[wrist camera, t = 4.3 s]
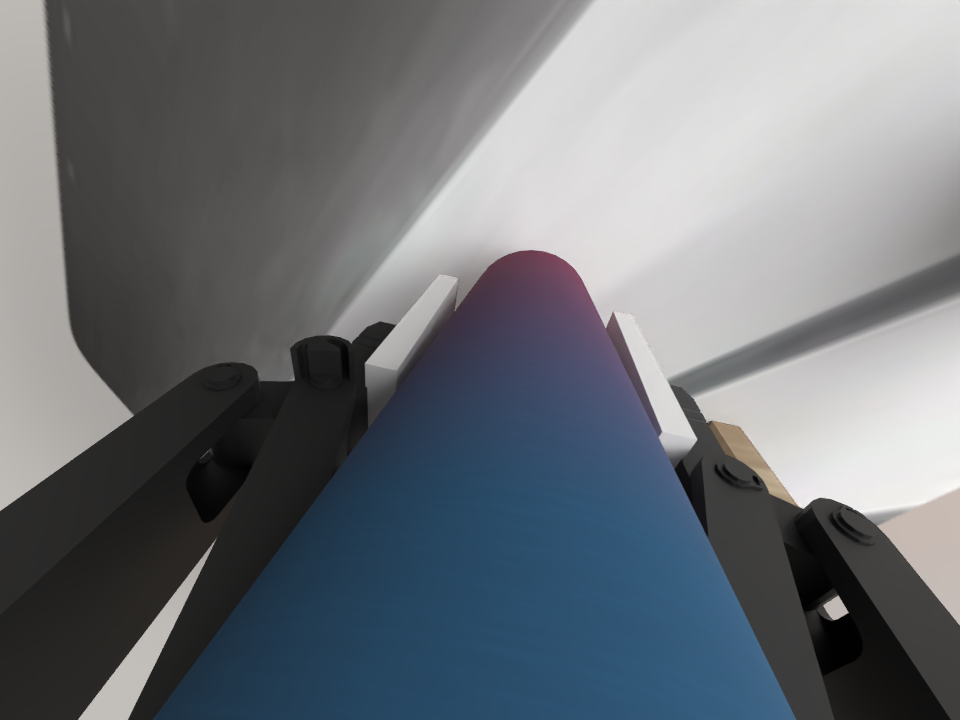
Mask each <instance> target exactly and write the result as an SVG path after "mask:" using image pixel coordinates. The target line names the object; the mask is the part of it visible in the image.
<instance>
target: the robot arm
mask: <svg viewBox="0 0 960 720" xmlns="http://www.w3.org/2000/svg"><path fill="white" fill-rule="evenodd" d="M458 279H459V278H456V277H452V276H447V275H442V274H439V275H438V276H437V278H436V279H435V280H434V281H433V282H432V284H431V285H430V286H429V287H428V288H427V290H426V291H425V292H424V293H423V294H422V296H421V297H420V298H419V299H418V300H417V302H416V303H415V304H414V305H413V306H412V308H411V309H410V310H409V311H408V312H407V313H406V315H405V316H404V317H403V318H402V319H401V321H400V322H399V323H398V324H397V325H393V324H389V323H384V322H378V323H376V324H373V325H371V326H369V327H367V328H366V329H365V330H364V331H363V332H362V333H361V334H360V335H359V337H357V338H356V339H355V340H354V341H353V342H352V344H351V343H350V342H349V341H348V340H345V339H343V338H341V337H335V336H314V337H310V338H305V339H303V340H301V341H299V342H297V343H295V344H294V345H293V346H292V347H291V348H290V351H291V357H292V363H293V369H294V376H295V380H294V381H287V382H279V381H260V380H259V376H258V372H257V371H256V370H255V369H254V368H253V367H252V366H250V365H247V364H244V363H233V362H230V363H220V364H216V365H212V366H209V367H206V368H203V369H201V370H199V371H198V372H196V373H194V374H192V375H191V376H189V377H188V378H187V379H185V380H184V381H182V382H181V383H180V384H178V385H177V386H175V387H174V388H173V389H171V390H170V391H168V392H167V393H166V394H164V395H163V396H161V397H160V398H159V399H157V400H156V401H154V402H153V403H152V404H150V405H149V406H147V407H146V408H144V409H143V410H142V411H140V412H139V413H137V414H136V415H135V416H133V417H132V418H130V419H129V420H128V421H126V422H125V423H123V424H122V425H121V426H119V427H118V428H117V429H115V430H114V431H112V432H111V433H109V434H108V435H107V436H105V437H104V438H102V439H101V440H100V441H98V442H97V443H95V444H94V445H92V446H91V447H90V448H88V449H87V450H85V451H84V452H83V453H81V454H80V455H78V456H77V457H76V458H74V459H73V460H71V461H70V462H69V463H67V464H66V465H64V466H63V467H62V468H60V469H59V470H58V471H56V472H55V473H53V474H52V475H50V476H49V477H48V478H46V479H45V480H44V481H42V482H40V483H39V484H38V485H37V486H35V487H34V488H32V489H31V490H29V491H28V492H26V493H25V494H24V495H22V496H21V497H20V498H18V499H17V500H15V501H14V502H13V503H11V504H10V505H8V506H7V507H5V508H4V509H3V510H1V511H0V720H78V719H79V717H80V716H81V715H82V714H83V712H84V711H85V710H86V708H87V707H88V705H89V704H90V703H91V702H92V700H93V699H94V698H95V696H96V695H97V694H98V693H99V691H100V690H101V689H102V687H103V686H104V685H105V683H106V682H107V680H109V678H110V677H111V675H112V674H113V673H114V672H115V670H116V669H117V668H118V666H119V665H120V664H121V662H122V661H123V660H124V659H125V657H126V656H127V655H128V653H129V652H130V650H131V649H132V648H133V647H134V646H135V644H136V643H137V642H138V640H139V639H140V638H141V636H142V635H143V634H144V632H145V631H146V630H147V629H148V627H149V626H150V625H151V623H152V622H153V621H154V619H155V618H156V617H157V615H158V614H159V613H160V611H161V610H162V609H163V608H164V606H165V605H166V604H167V602H168V601H169V600H170V598H171V597H172V596H173V594H174V593H175V592H176V591H177V589H178V588H179V587H180V585H181V584H182V583H183V581H184V580H185V579H186V577H187V576H188V575H189V574H190V572H191V571H192V570H193V568H194V567H195V566H196V564H197V563H198V562H199V560H200V559H201V558H202V557H203V555H204V554H205V553H206V551H207V550H208V549H209V547H210V546H211V545H212V543H213V542H214V541H215V539H216V538H217V539H216V541H215V543H214V545H213V547H212V550H211V552H210V554H209V556H208V558H207V560H206V562H205V564H204V566H203V568H202V570H201V572H200V574H199V576H198V578H197V580H196V582H195V584H194V586H193V588H192V590H191V593H190V594H189V596H188V598H187V601H186V603H185V605H184V607H183V609H182V611H181V613H180V615H179V617H178V619H177V621H176V623H175V625H174V627H173V629H172V631H171V633H170V635H169V637H168V639H167V641H166V643H165V645H164V648H163V649H162V652H161V653H160V656H159V658H158V660H157V662H156V664H155V666H154V668H153V670H152V672H151V674H150V676H149V678H148V680H147V682H146V684H145V686H144V688H143V690H142V692H141V694H140V696H139V698H138V700H137V702H136V705H135V706H134V709H133V711H132V713H131V715H130V717H129V719H128V720H153V718H154V717H155V716H156V714H157V713H158V712H159V710H160V709H161V708H162V706H163V705H164V704H165V702H166V701H167V700H168V698H169V697H170V695H171V694H172V693H173V691H174V690H175V689H176V687H177V686H178V685H179V683H180V682H181V681H182V679H183V678H184V677H185V675H186V674H187V673H188V671H189V670H190V669H191V667H192V666H193V664H194V663H195V662H196V660H197V659H198V658H199V656H200V655H201V654H202V652H203V651H204V650H205V648H206V647H207V646H208V644H209V643H210V642H211V640H212V639H213V637H214V636H215V635H216V633H217V632H218V631H219V629H220V628H221V627H222V625H223V624H224V623H225V621H226V620H227V619H228V617H229V616H230V615H231V613H232V612H233V610H234V609H235V608H236V606H237V605H238V604H239V602H240V601H241V600H242V598H243V597H244V596H245V594H246V593H247V592H248V590H249V589H250V588H251V586H252V585H253V583H254V582H255V581H256V579H257V578H258V577H259V575H260V574H261V573H262V571H263V570H264V569H265V567H266V566H267V565H268V563H269V562H270V561H271V559H272V558H273V557H274V555H275V554H276V552H277V551H278V550H279V548H280V547H281V546H282V544H283V543H284V542H285V540H286V539H287V538H288V536H289V535H290V534H291V532H292V531H293V530H294V528H295V527H296V525H297V524H298V523H299V521H300V520H301V519H302V517H303V516H304V515H305V513H306V512H307V511H308V509H309V508H310V507H311V505H312V504H313V503H314V501H315V500H316V498H317V497H318V496H319V494H320V493H321V492H322V490H323V489H324V488H325V486H326V485H327V484H328V482H329V481H330V480H331V478H332V477H333V476H334V474H335V473H336V471H337V470H338V469H339V467H340V466H341V465H342V463H343V462H344V461H345V459H346V458H347V457H348V455H349V454H350V453H351V451H352V450H353V449H354V447H355V446H356V445H357V443H358V442H359V440H360V439H361V438H362V436H363V435H364V434H365V432H366V431H367V430H368V428H369V427H370V426H371V424H372V423H373V422H374V420H375V419H376V418H377V416H378V415H379V413H380V412H381V411H382V409H383V408H384V407H385V405H386V404H387V403H388V401H389V400H390V399H391V397H392V396H393V395H394V393H395V392H396V391H397V389H398V388H399V386H400V385H401V384H402V382H403V381H404V380H405V378H406V377H407V376H408V374H409V373H410V372H411V370H412V369H413V368H414V366H415V365H416V364H417V362H418V361H419V360H420V358H421V357H422V355H423V354H424V353H425V351H426V350H427V349H428V347H429V346H430V345H431V343H432V342H433V341H434V339H435V338H436V337H437V335H438V334H439V333H440V331H441V330H442V328H443V327H444V326H445V324H446V323H447V322H448V320H449V319H450V318H451V316H452V315H453V314H454V309H455V302H456V294H457V286H458ZM606 330H607V332H608V334H609V337H610V339H611V341H612V343H613V345H614V347H615V349H616V351H617V353H618V355H619V357H620V359H621V361H622V363H623V365H624V367H625V369H626V371H627V373H628V376H629V378H630V380H631V382H632V384H633V386H634V388H635V390H636V392H637V394H638V396H639V398H640V400H641V402H642V404H643V406H644V408H645V410H646V412H647V415H648V417H649V419H650V421H651V423H652V425H653V427H654V429H655V431H656V433H657V435H658V437H659V439H660V441H661V443H662V445H663V447H664V449H665V451H666V454H667V456H668V458H669V460H670V462H671V464H672V466H673V468H674V470H675V472H676V474H677V476H678V478H679V480H680V482H681V484H682V486H683V488H684V490H685V493H686V495H687V497H688V499H689V501H690V503H691V505H692V507H693V509H694V511H695V513H696V515H697V517H698V519H699V521H700V523H701V525H702V527H703V529H704V531H705V534H706V536H707V538H708V540H709V542H710V544H711V546H712V548H713V550H714V552H715V554H716V556H717V558H718V560H719V562H720V564H721V566H722V568H723V570H724V573H725V575H726V577H727V579H728V581H729V583H730V585H731V587H732V589H733V591H734V593H735V595H736V597H737V599H738V601H739V603H740V605H741V607H742V609H743V612H744V614H745V616H746V618H747V620H748V622H749V624H750V626H751V628H752V630H753V632H754V634H755V636H756V638H757V640H758V642H759V644H760V646H761V648H762V651H763V653H764V655H765V657H766V659H767V661H768V663H769V665H770V667H771V669H772V671H773V673H774V675H775V677H776V679H777V681H778V683H779V685H780V687H781V689H782V692H783V694H784V696H785V698H786V700H787V702H788V704H789V706H790V708H791V710H792V712H793V714H794V716H795V718H796V720H960V625H959V624H958V623H957V622H956V620H955V619H954V618H953V617H952V616H951V614H950V613H949V612H948V611H947V609H946V608H945V607H944V606H943V604H942V603H941V602H940V601H939V600H938V598H937V597H936V596H935V595H934V593H933V592H932V591H931V590H930V589H929V587H928V586H927V585H926V584H925V582H924V581H923V580H922V579H921V578H920V576H919V575H918V574H917V573H916V571H915V570H914V569H913V568H912V566H911V565H910V564H909V563H908V562H907V560H906V559H905V558H904V557H903V555H902V554H901V553H900V552H899V551H898V549H897V548H896V547H895V546H894V544H893V543H892V542H891V541H890V540H889V538H888V537H887V536H886V535H885V534H884V533H883V532H882V531H881V530H880V529H879V528H878V527H877V526H876V525H875V524H874V523H872V522H871V521H870V520H868V519H867V518H866V517H865V516H864V515H863V514H861V513H860V512H858V511H856V510H853V508H851V507H849V506H847V505H844V504H842V503H839V502H837V501H834V500H831V499H825V498H818V499H816V500H813V501H812V502H811V503H810V504H809V505H807V506H806V507H805V508H804V509H802V508H800V507H798V506H796V505H793V504H791V503H789V502H787V501H784V500H782V499H780V498H778V497H776V496H773V495H771V494H769V491H768V488H767V487H766V485H765V483H764V481H763V480H762V479H761V477H760V476H759V475H758V474H757V473H756V472H755V471H754V470H753V469H751V468H750V467H749V466H747V465H746V464H744V463H743V462H741V461H739V460H737V459H735V458H734V457H732V456H729V455H726V454H725V452H724V451H723V449H722V447H721V445H720V444H719V442H718V440H717V439H716V437H715V435H714V433H713V432H712V430H711V428H710V427H709V425H708V424H707V423H706V420H705V418H704V416H703V415H702V413H700V409H699V408H698V406H697V404H696V403H695V401H694V399H693V398H692V397H691V396H690V395H688V394H687V393H686V392H685V391H684V390H683V389H682V388H681V387H677V386H672V385H669V384H668V382H667V380H666V378H665V376H664V374H663V372H662V370H661V368H660V366H659V364H658V362H657V360H656V358H655V356H654V354H653V352H652V350H651V349H650V347H649V345H648V343H647V341H646V339H645V337H644V335H643V333H642V331H641V329H640V327H639V325H638V323H637V321H636V319H635V317H634V315H630V314H625V313H620V312H616V311H613V313H612V316H611V318H610V321H609V323H608V325H607V328H606ZM208 450H209V452H208V453H207V454H206V455H205V456H204V457H202V456H203V455H204V454H205V453H206V452H207V451H208ZM201 457H202V458H201ZM200 458H201V459H200ZM838 595H839V597H840V599H841V600H842V602H843V604H844V605H845V607H846V608H847V610H848V612H849V613H848V614H846V615H844V616H843V617H841V618H839V619H837V620H833V619H832V618H831V617H830V616H829V615H828V613H827V612H826V610H825V608H824V606H823V605H824V604H826V603H827V602H829V601H830V600H832V599H833V598H835V597H837V596H838Z"/></svg>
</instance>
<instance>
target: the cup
mask: <svg viewBox="0 0 960 720" xmlns="http://www.w3.org/2000/svg"><path fill="white" fill-rule="evenodd" d="M153 720H796V718H795V716H794V714H793V712H792V710H791V708H790V706H789V704H788V702H787V700H786V698H785V696H784V694H783V692H782V689H781V687H780V685H779V683H778V681H777V679H776V677H775V675H774V673H773V671H772V669H771V667H770V665H769V663H768V661H767V659H766V657H765V655H764V653H763V651H762V648H761V646H760V644H759V642H758V640H757V638H756V636H755V634H754V632H753V630H752V628H751V626H750V624H749V622H748V620H747V618H746V616H745V614H744V612H743V609H742V607H741V605H740V603H739V601H738V599H737V597H736V595H735V593H734V591H733V589H732V587H731V585H730V583H729V581H728V579H727V577H726V575H725V573H724V570H723V568H722V566H721V564H720V562H719V560H718V558H717V556H716V554H715V552H714V550H713V548H712V546H711V544H710V542H709V540H708V538H707V536H706V534H705V531H704V529H703V527H702V525H701V523H700V521H699V519H698V517H697V515H696V513H695V511H694V509H693V507H692V505H691V503H690V501H689V499H688V497H687V495H686V493H685V490H684V488H683V486H682V484H681V482H680V480H679V478H678V476H677V474H676V472H675V470H674V468H673V466H672V464H671V462H670V460H669V458H668V456H667V454H666V451H665V449H664V447H663V445H662V443H661V441H660V439H659V437H658V435H657V433H656V431H655V429H654V427H653V425H652V423H651V421H650V419H649V417H648V415H647V412H646V410H645V408H644V406H643V404H642V402H641V400H640V398H639V396H638V394H637V392H636V390H635V388H634V386H633V384H632V382H631V380H630V378H629V376H628V373H627V371H626V369H625V367H624V365H623V363H622V361H621V359H620V357H619V355H618V353H617V351H616V349H615V347H614V345H613V343H612V341H611V339H610V337H609V334H608V332H607V330H606V328H605V326H604V324H603V322H602V320H601V318H600V316H599V314H598V312H597V310H596V308H595V306H594V304H593V302H592V300H591V298H590V296H589V293H588V291H587V289H586V287H585V285H584V283H583V281H582V279H581V278H580V276H579V275H578V273H577V272H576V271H575V269H574V268H573V267H572V266H570V265H569V264H568V263H567V262H566V261H564V260H563V259H561V258H559V257H557V256H556V255H553V254H550V253H547V252H543V251H534V250H528V251H519V252H515V253H512V254H508V255H506V256H504V257H502V258H500V259H498V260H497V261H496V262H494V263H493V264H492V265H491V266H489V267H488V269H487V270H486V271H485V272H484V273H483V275H482V276H481V277H480V279H479V280H478V281H477V283H476V284H475V285H474V287H473V288H472V289H471V291H470V292H469V293H468V295H467V296H466V297H465V299H464V300H463V301H462V303H461V304H460V306H459V307H458V308H457V310H456V311H455V312H454V314H453V315H452V316H451V318H450V319H449V320H448V322H447V323H446V324H445V326H444V327H443V328H442V330H441V331H440V333H439V334H438V335H437V337H436V338H435V339H434V341H433V342H432V343H431V345H430V346H429V347H428V349H427V350H426V351H425V353H424V354H423V355H422V357H421V358H420V360H419V361H418V362H417V364H416V365H415V366H414V368H413V369H412V370H411V372H410V373H409V374H408V376H407V377H406V378H405V380H404V381H403V382H402V384H401V385H400V386H399V388H398V389H397V391H396V392H395V393H394V395H393V396H392V397H391V399H390V400H389V401H388V403H387V404H386V405H385V407H384V408H383V409H382V411H381V412H380V413H379V415H378V416H377V418H376V419H375V420H374V422H373V423H372V424H371V426H370V427H369V428H368V430H367V431H366V432H365V434H364V435H363V436H362V438H361V439H360V440H359V442H358V443H357V445H356V446H355V447H354V449H353V450H352V451H351V453H350V454H349V455H348V457H347V458H346V459H345V461H344V462H343V463H342V465H341V466H340V467H339V469H338V470H337V471H336V473H335V474H334V476H333V477H332V478H331V480H330V481H329V482H328V484H327V485H326V486H325V488H324V489H323V490H322V492H321V493H320V494H319V496H318V497H317V498H316V500H315V501H314V503H313V504H312V505H311V507H310V508H309V509H308V511H307V512H306V513H305V515H304V516H303V517H302V519H301V520H300V521H299V523H298V524H297V525H296V527H295V528H294V530H293V531H292V532H291V534H290V535H289V536H288V538H287V539H286V540H285V542H284V543H283V544H282V546H281V547H280V548H279V550H278V551H277V552H276V554H275V555H274V557H273V558H272V559H271V561H270V562H269V563H268V565H267V566H266V567H265V569H264V570H263V571H262V573H261V574H260V575H259V577H258V578H257V579H256V581H255V582H254V583H253V585H252V586H251V588H250V589H249V590H248V592H247V593H246V594H245V596H244V597H243V598H242V600H241V601H240V602H239V604H238V605H237V606H236V608H235V609H234V610H233V612H232V613H231V615H230V616H229V617H228V619H227V620H226V621H225V623H224V624H223V625H222V627H221V628H220V629H219V631H218V632H217V633H216V635H215V636H214V637H213V639H212V640H211V642H210V643H209V644H208V646H207V647H206V648H205V650H204V651H203V652H202V654H201V655H200V656H199V658H198V659H197V660H196V662H195V663H194V664H193V666H192V667H191V669H190V670H189V671H188V673H187V674H186V675H185V677H184V678H183V679H182V681H181V682H180V683H179V685H178V686H177V687H176V689H175V690H174V691H173V693H172V694H171V695H170V697H169V698H168V700H167V701H166V702H165V704H164V705H163V706H162V708H161V709H160V710H159V712H158V713H157V714H156V716H155V717H154V718H153Z"/></svg>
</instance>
